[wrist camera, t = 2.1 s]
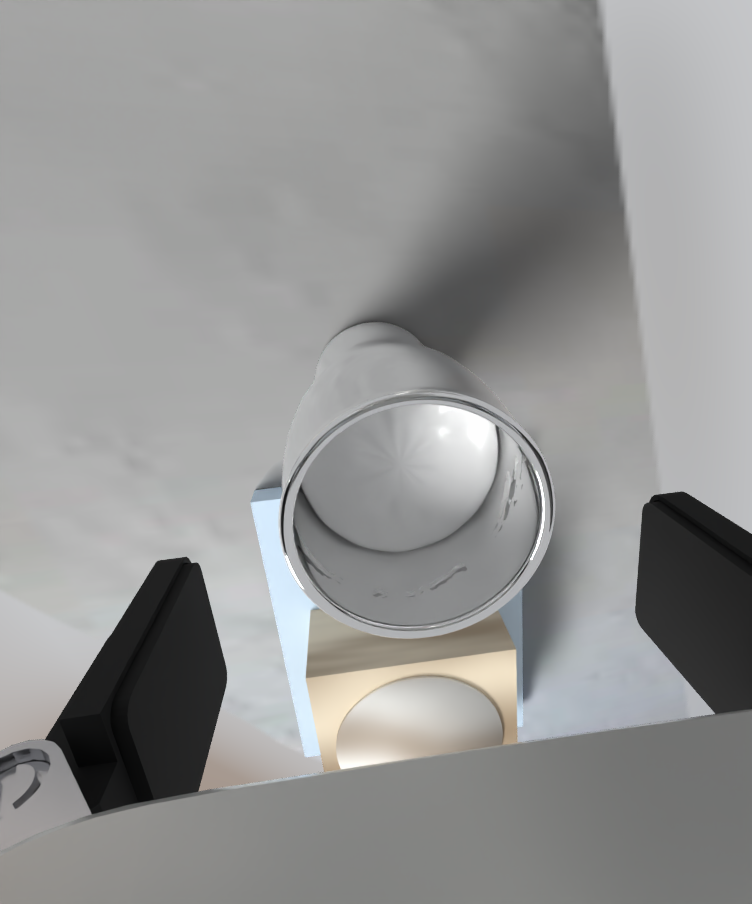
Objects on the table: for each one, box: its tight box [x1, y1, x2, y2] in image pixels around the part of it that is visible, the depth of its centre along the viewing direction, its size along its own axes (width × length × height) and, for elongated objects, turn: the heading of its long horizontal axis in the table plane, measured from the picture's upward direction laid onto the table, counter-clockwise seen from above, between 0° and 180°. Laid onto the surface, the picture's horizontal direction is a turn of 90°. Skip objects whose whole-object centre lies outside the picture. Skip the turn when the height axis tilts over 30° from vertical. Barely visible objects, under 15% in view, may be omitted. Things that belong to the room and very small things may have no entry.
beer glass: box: [278, 322, 555, 639], centre depth 19 cm, size 7×7×15 cm
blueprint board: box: [251, 487, 523, 757], centre depth 30 cm, size 18×14×2 cm
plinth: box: [306, 609, 517, 772], centre depth 28 cm, size 10×10×5 cm
